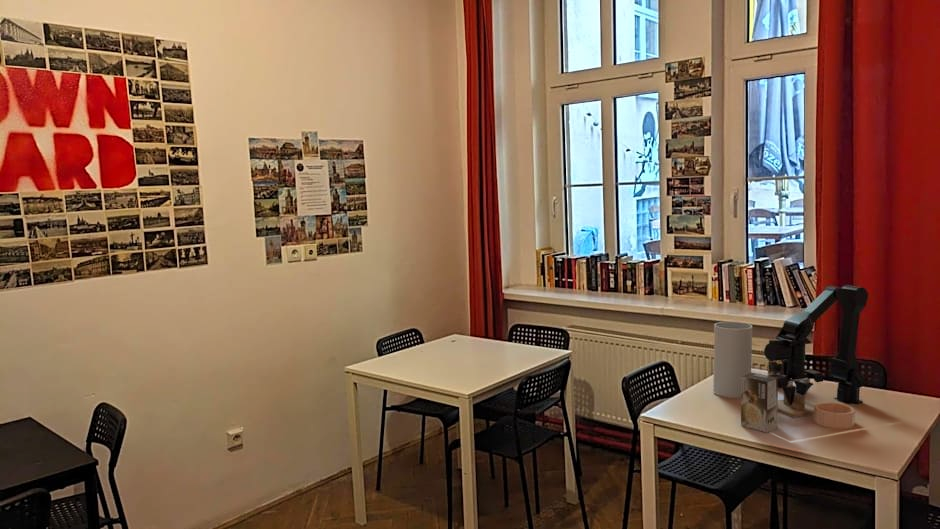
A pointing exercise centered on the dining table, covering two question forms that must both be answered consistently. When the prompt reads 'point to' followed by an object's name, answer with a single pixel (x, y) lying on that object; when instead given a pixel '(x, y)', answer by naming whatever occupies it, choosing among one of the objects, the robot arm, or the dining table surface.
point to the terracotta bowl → (834, 415)
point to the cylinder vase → (731, 357)
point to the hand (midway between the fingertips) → (794, 403)
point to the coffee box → (759, 401)
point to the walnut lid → (795, 406)
